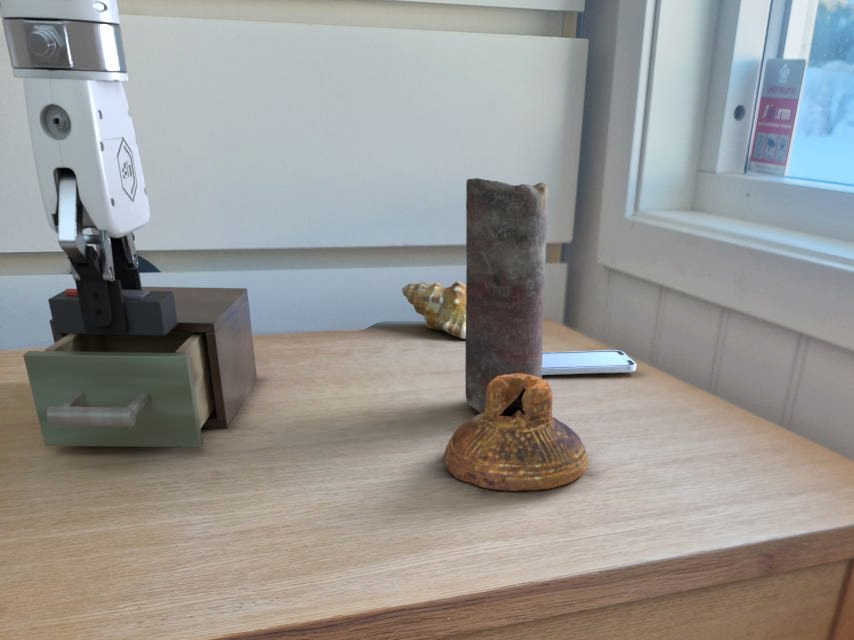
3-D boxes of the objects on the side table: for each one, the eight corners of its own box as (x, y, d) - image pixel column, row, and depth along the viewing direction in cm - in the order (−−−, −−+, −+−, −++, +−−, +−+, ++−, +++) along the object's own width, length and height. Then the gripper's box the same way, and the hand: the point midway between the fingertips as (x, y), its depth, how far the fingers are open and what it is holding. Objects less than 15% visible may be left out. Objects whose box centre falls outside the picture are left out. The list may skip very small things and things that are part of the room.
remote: (178, 324, 73) (172, 287, 72) (165, 336, 70) (159, 297, 68) (73, 322, 73) (66, 284, 71) (55, 333, 69) (46, 294, 68)
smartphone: (493, 353, 101) (620, 349, 103) (493, 362, 101) (620, 358, 103) (503, 370, 95) (638, 365, 96) (503, 379, 95) (637, 374, 97)
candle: (451, 401, 87) (452, 175, 77) (515, 393, 90) (525, 174, 80) (486, 424, 82) (493, 182, 71) (554, 414, 85) (570, 181, 74)
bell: (616, 471, 72) (626, 382, 68) (509, 507, 65) (513, 410, 62) (518, 434, 80) (522, 352, 76) (413, 462, 73) (411, 374, 69)
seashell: (425, 365, 111) (390, 288, 108) (439, 360, 118) (406, 288, 115) (491, 333, 108) (457, 253, 105) (501, 330, 115) (469, 255, 113)
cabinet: (227, 428, 79) (213, 322, 74) (72, 426, 78) (49, 320, 74) (257, 380, 92) (247, 288, 87) (125, 378, 92) (107, 285, 87)
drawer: (182, 473, 67) (167, 376, 63) (16, 471, 67) (-10, 374, 63) (234, 395, 84) (224, 316, 80) (102, 394, 84) (86, 314, 80)
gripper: (82, 53, 54) (134, 354, 64) (155, 61, 69) (189, 306, 78) (-43, 48, 54) (29, 352, 64) (57, 57, 68) (103, 304, 78)
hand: (117, 324), depth 71 cm, fingers closed on remote, 4 cm apart
